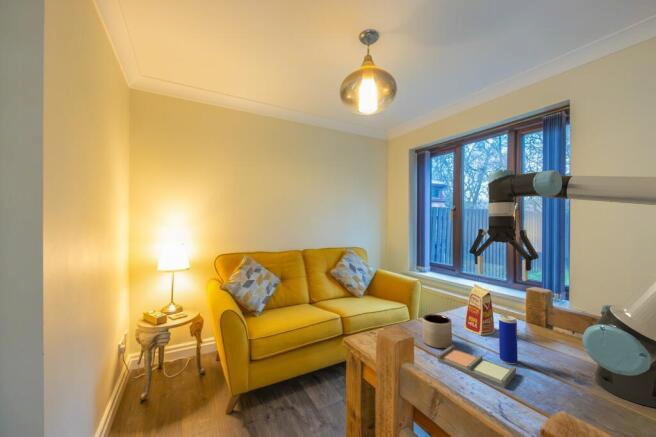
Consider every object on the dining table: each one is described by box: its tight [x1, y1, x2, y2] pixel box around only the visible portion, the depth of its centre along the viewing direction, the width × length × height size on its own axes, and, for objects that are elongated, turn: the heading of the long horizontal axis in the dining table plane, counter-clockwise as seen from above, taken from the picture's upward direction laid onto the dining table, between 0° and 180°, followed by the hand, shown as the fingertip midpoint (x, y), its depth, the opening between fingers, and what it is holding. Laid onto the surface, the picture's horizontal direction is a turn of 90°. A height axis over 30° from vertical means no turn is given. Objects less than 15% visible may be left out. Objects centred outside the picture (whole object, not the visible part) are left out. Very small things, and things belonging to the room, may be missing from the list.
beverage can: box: [498, 314, 518, 366], centre depth 92 cm, size 5×5×15 cm
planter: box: [422, 313, 453, 350], centre depth 106 cm, size 11×11×10 cm
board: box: [437, 344, 517, 389], centre depth 88 cm, size 20×11×2 cm, turn 40°
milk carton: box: [463, 283, 495, 336], centre depth 117 cm, size 9×9×20 cm
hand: (501, 276), depth 92 cm, fingers open, 13 cm apart
